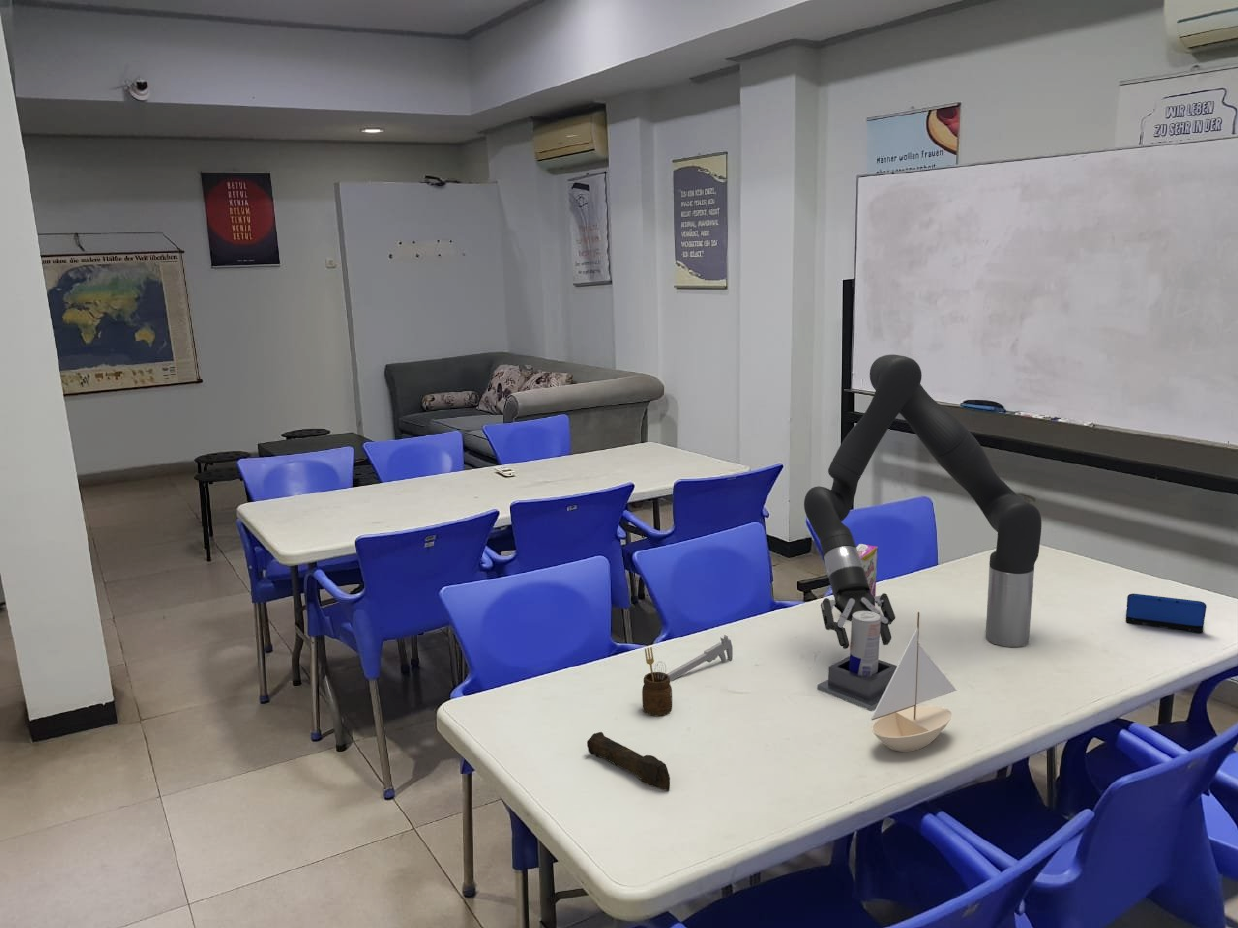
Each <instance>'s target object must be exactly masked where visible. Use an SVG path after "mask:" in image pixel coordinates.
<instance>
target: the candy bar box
mask: <svg viewBox="0 0 1238 928" xmlns="http://www.w3.org/2000/svg"><path fill="white" fill-rule="evenodd" d="M878 548H879V547H878V546H875V545H869V544H863V543H859V544H858V545H856V549H857V552H858V554H859V556H860V558H861V561H862V564H863V568H864V571H865V574H866V578H867V581H868V584H869V588H870V592H871V594H872V595H873V596H874V597H875V596H876V593H877V592H876V590H877V573H878V572H877V571H878V569H877V568H878ZM873 606H874V607H876V603H874V605H873ZM846 621H851V620H850V619H848V618H847V619H846Z"/></svg>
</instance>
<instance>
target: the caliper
mask: <svg viewBox="0 0 1238 928" xmlns="http://www.w3.org/2000/svg"><path fill="white" fill-rule="evenodd" d="M731 640H732V639H730V638H729V636H728V635H726V634H724V635H723V637H720V641H721V642H718V643H715V645H712V646H711V647H709V648H707V649H705V650H704V651H703V653H701V654H699V655H698V656H696V657H694V658H692V659H690V660H689V661H687V662H686V663H683V664H681V665H680V666H678V667H677V668H675V669H673V670H671V671H669V672H666V674H668V675H669V677H670V682H672V681H674V680H675V679H677V678H679V677H681V676H683V675H684V674H686V673H687V672H690V671H691V670H693V669H695V668H696V667H699V666H700V665H702V664H703V663H705V662H707V663H709V664H710V663H711V662H713V661H715V660H716V659H717V658H718V657H719V659H720V660H721V662H723V663H727V659H728V660H729V661H732V660H733V655H734V654H733V649H734V648H733V644H732V641H731ZM725 652H726V653H725ZM726 655H727V657H726Z"/></svg>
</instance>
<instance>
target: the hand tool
mask: <svg viewBox="0 0 1238 928" xmlns="http://www.w3.org/2000/svg"><path fill="white" fill-rule="evenodd" d="M586 742H587V743H586V746H587V750H588V753H589V754H590V755H594V756H595V758H597V757H600V758H602V759H604V760H607V761H609V762H610V763H612V764H614V765H615V766H617V767H620V768H621V769H623V770H626V771H628V773H631V774H633V775H635V776H636V777H638V778H639V779H640V781H641V783H643V784H645V785H648V786H650V787H654V788H657V789H660V790H665V791H670V787H671V778H670V777H671V776H670V774H669V770H668V767H667V764H666V763H665V762H664V761H662V760H660V759H658V758H657V757H656V756H654V755H651V754H645V755H642V754H640V753H638V752H636V751H634V750H632V749H630V748H628V747H626V746H624V745H622V744H621V743H619V742H616V741H614V740H613V739H611V738H610V737H607V736H606V735H604V733H603V732H602V731H598V732H596V733H595V732H594V733H592V735H591V736H590V738H589V739H588V740H587V741H586Z"/></svg>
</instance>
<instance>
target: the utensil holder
mask: <svg viewBox="0 0 1238 928" xmlns="http://www.w3.org/2000/svg"><path fill="white" fill-rule="evenodd" d="M644 653H645V661H646V664H647V665H649V670H650V672H649V673H647V674H645V675H644V678H643V686H642V689H641V690H642V691H641V693H642V694H641V696H642V697H641V698H642V699H641V701H642V710H643V712H644V713H645V714H647V715H649V716H652V717H663V716H666V715H668V714H670V713H671V711H672V709H673V690H672V689H673V687H672V685H671V681H670V677H669V675H668V674H667V672H664V670H667V665H666V663H665V662H663V661H657V662H656V663H655V664H654V662H655V659H654V652H653V648H652V646H650V647H647V648H644ZM653 664H654V665H655V666H656V667H654V669H653V666H652V665H653ZM658 665H659V667H658ZM661 665H663V666H664V667H665V669H664V668H661V671H656V670H657V668H659V669H660V666H661ZM653 670H654V671H653Z"/></svg>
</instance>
